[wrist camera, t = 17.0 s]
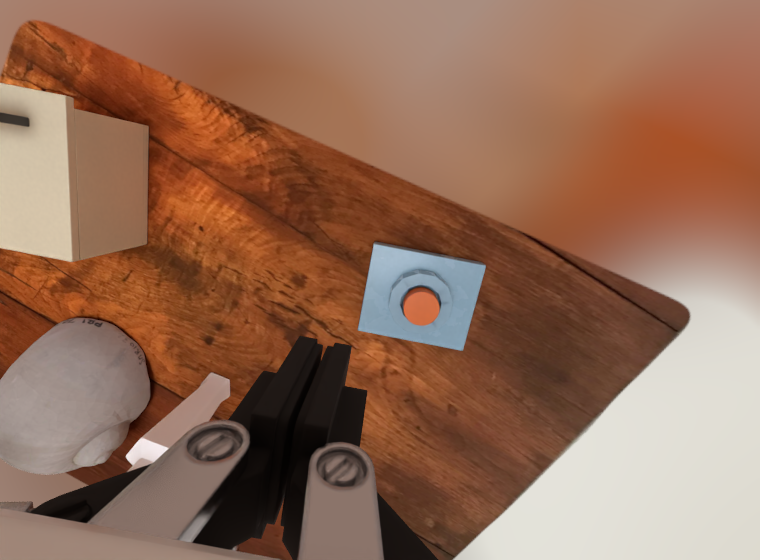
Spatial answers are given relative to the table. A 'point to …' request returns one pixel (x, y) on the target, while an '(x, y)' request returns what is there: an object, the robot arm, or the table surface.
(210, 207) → the table surface
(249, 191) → the table surface
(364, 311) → the box
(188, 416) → the perfume bottle
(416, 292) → the button
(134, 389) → the grey rounded lump
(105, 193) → the chest
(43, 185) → the lid
